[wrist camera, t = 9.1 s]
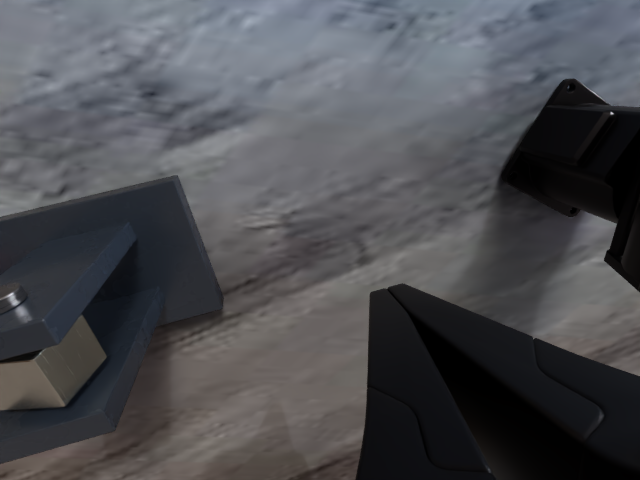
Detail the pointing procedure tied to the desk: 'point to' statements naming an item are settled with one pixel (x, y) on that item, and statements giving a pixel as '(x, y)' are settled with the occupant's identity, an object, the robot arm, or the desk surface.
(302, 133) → the desk surface
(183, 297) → the dark grey lever stand
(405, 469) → the robot arm
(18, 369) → the red-knobbed lever handle
